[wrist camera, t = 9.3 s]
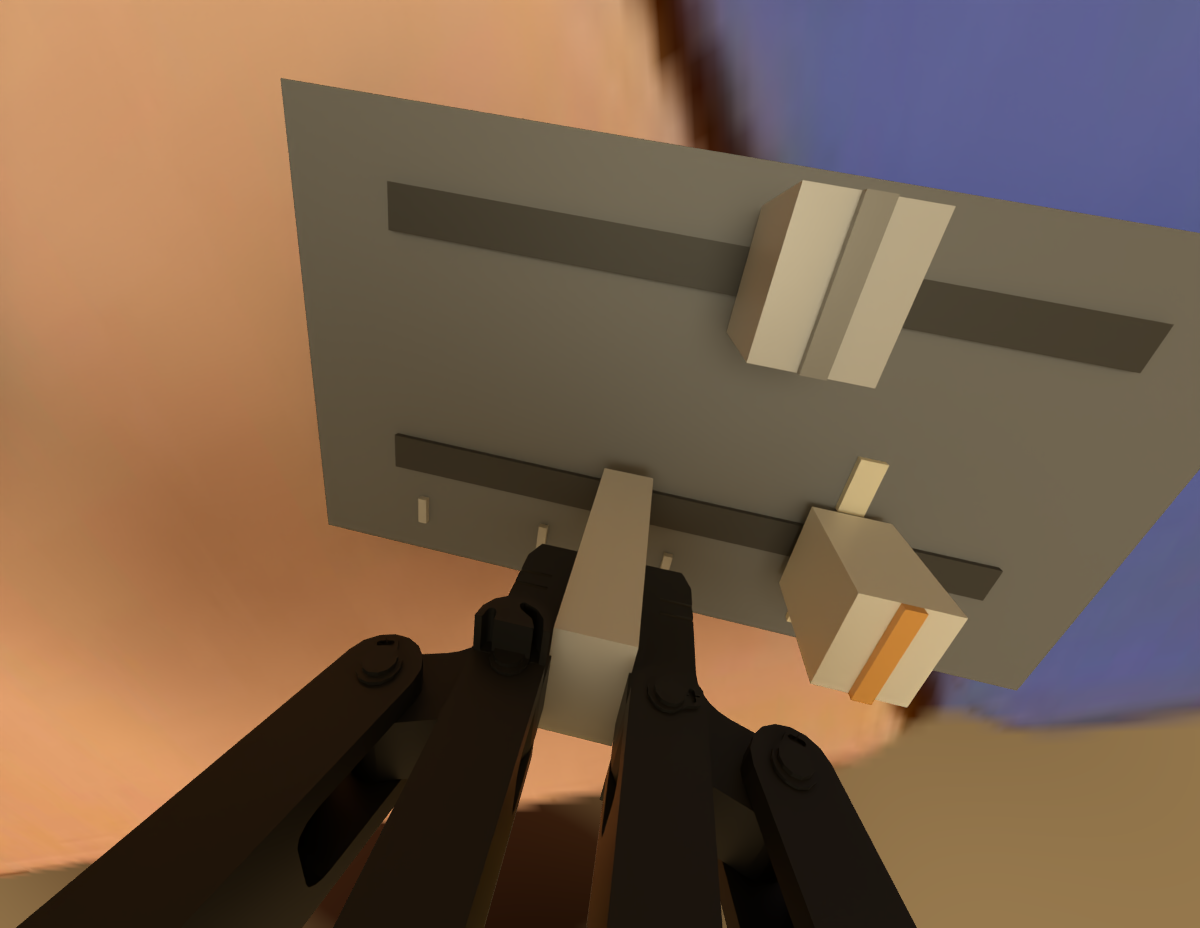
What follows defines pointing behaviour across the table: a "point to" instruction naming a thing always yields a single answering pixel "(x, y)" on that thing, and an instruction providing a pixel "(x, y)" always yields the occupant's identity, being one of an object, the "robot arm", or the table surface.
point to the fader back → (866, 608)
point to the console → (726, 369)
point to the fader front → (833, 279)
